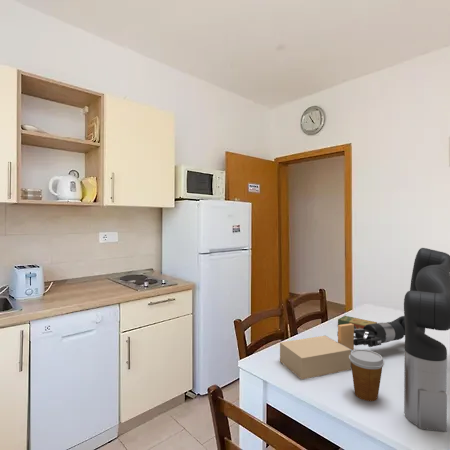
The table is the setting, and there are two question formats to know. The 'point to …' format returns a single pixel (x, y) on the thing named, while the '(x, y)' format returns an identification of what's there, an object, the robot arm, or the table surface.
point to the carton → (354, 322)
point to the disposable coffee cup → (366, 373)
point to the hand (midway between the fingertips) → (345, 338)
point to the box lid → (314, 356)
